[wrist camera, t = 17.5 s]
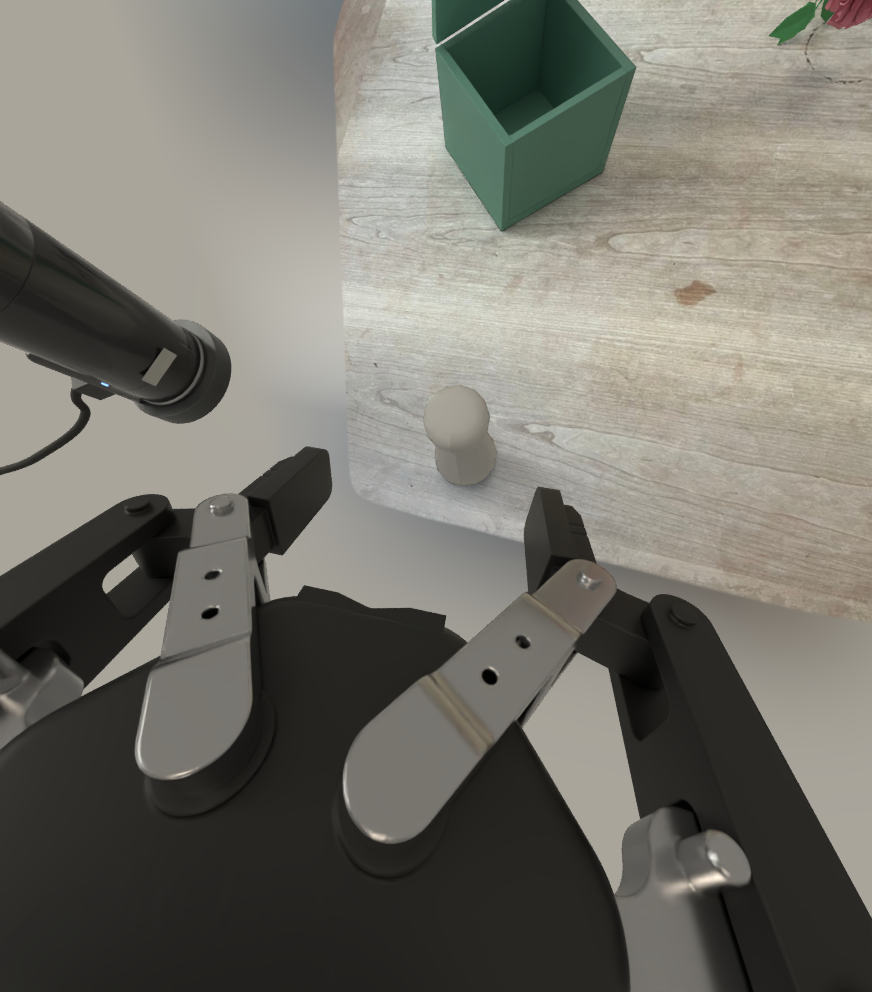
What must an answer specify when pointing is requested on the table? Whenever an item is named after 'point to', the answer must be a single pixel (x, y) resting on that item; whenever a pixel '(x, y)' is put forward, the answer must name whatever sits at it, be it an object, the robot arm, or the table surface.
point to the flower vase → (825, 16)
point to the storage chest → (531, 103)
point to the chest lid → (456, 15)
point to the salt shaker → (460, 434)
